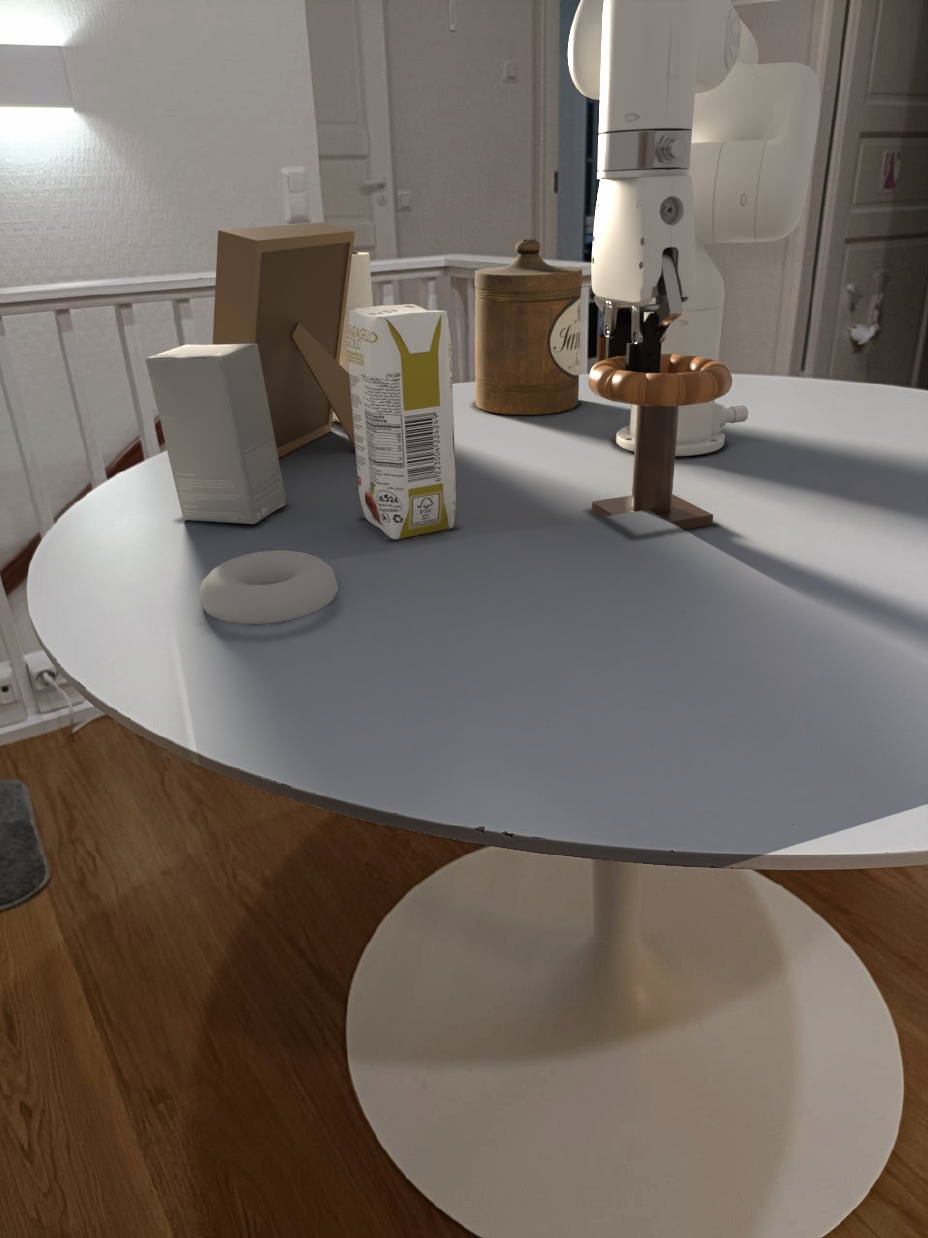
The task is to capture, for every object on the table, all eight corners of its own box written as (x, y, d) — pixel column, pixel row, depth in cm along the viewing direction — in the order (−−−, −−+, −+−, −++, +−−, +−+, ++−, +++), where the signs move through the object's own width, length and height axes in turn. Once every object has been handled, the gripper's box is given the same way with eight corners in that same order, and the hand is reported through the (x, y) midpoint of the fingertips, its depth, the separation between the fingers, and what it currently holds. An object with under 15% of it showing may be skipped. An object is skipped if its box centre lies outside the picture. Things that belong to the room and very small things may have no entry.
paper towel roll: (389, 417, 121) (378, 250, 112) (362, 427, 117) (348, 253, 108) (348, 412, 125) (335, 250, 116) (320, 421, 120) (304, 253, 111)
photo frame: (208, 474, 99) (169, 230, 88) (302, 428, 117) (280, 223, 106) (325, 483, 94) (301, 228, 83) (405, 435, 112) (393, 220, 102)
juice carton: (389, 545, 77) (374, 317, 69) (354, 517, 84) (336, 307, 76) (465, 529, 80) (460, 310, 72) (425, 504, 87) (416, 301, 79)
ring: (678, 376, 84) (680, 347, 82) (758, 400, 73) (762, 368, 72) (565, 387, 80) (565, 358, 79) (632, 414, 70) (635, 381, 69)
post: (664, 499, 86) (672, 386, 81) (712, 524, 79) (724, 402, 75) (591, 511, 84) (595, 394, 79) (634, 538, 77) (642, 412, 72)
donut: (342, 581, 70) (215, 586, 70) (339, 541, 69) (209, 545, 68) (336, 637, 61) (190, 644, 61) (332, 592, 60) (183, 598, 59)
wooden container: (584, 414, 120) (589, 239, 110) (475, 417, 120) (471, 242, 111) (573, 392, 133) (577, 234, 124) (475, 394, 134) (472, 237, 124)
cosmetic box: (287, 506, 87) (268, 341, 81) (249, 530, 81) (224, 354, 75) (215, 499, 90) (189, 339, 83) (172, 522, 84) (141, 351, 77)
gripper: (742, 152, 67) (718, 397, 75) (632, 162, 81) (622, 367, 89) (657, 153, 64) (641, 405, 72) (558, 163, 78) (555, 374, 86)
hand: (631, 382), depth 80 cm, fingers closed on ring, 2 cm apart
